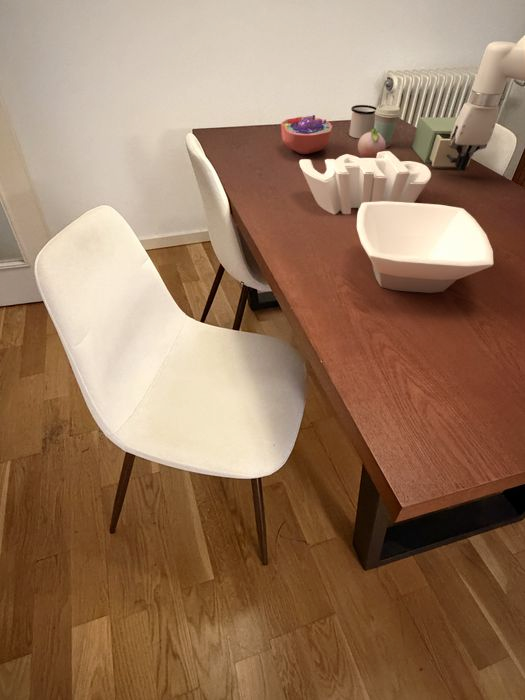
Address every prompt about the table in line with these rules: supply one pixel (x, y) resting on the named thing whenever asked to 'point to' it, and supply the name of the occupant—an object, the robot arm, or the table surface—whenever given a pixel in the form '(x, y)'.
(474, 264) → the bowl
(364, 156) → the decorative fruit
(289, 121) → the cell model
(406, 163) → the white wavy slab sculpture
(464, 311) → the table surface
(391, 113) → the coffee cup
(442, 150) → the drawer
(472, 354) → the table surface
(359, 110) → the mug
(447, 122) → the cabinet
